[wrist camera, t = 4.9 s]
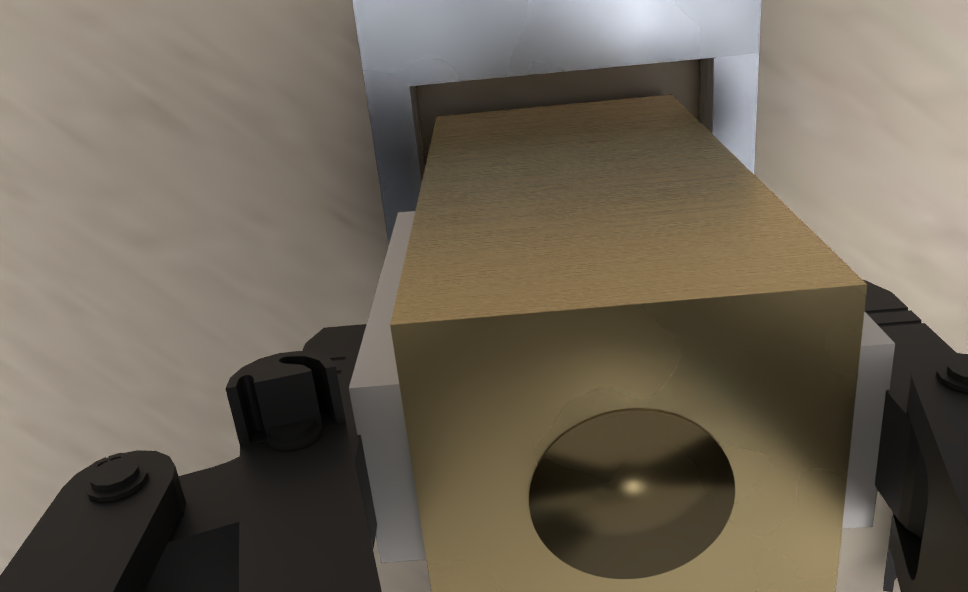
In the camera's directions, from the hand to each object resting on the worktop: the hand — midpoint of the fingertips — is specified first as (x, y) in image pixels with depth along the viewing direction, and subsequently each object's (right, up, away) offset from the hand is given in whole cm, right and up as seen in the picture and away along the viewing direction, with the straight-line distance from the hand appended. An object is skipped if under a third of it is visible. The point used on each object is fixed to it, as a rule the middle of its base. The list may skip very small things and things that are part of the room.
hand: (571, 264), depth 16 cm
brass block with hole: (0, +1, +3) cm, 3 cm away
